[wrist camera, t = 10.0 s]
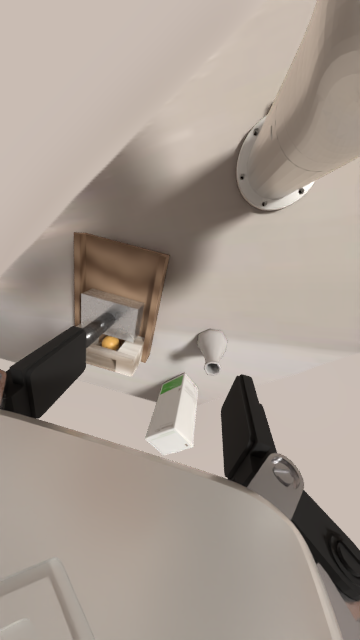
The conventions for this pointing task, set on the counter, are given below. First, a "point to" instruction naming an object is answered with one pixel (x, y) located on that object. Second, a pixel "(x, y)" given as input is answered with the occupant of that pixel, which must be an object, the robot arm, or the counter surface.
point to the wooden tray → (119, 293)
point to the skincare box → (174, 416)
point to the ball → (110, 343)
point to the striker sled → (110, 316)
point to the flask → (212, 349)
